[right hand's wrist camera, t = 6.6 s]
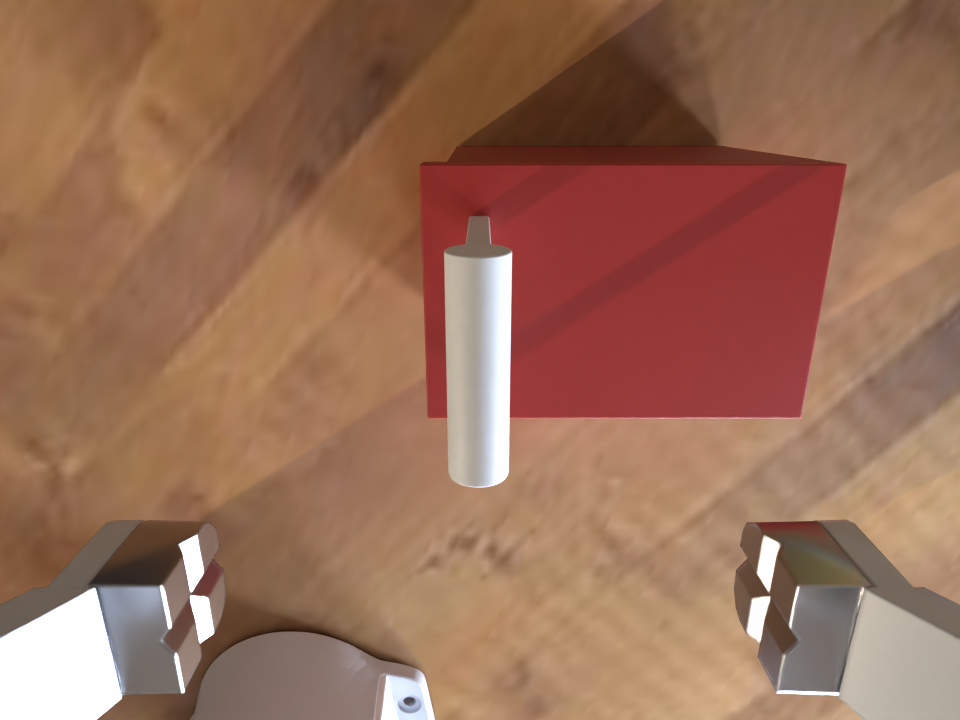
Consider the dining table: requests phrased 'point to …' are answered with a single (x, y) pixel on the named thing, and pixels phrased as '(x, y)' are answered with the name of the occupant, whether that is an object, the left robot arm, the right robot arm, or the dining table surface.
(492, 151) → the chest
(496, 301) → the lid
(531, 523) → the dining table surface
